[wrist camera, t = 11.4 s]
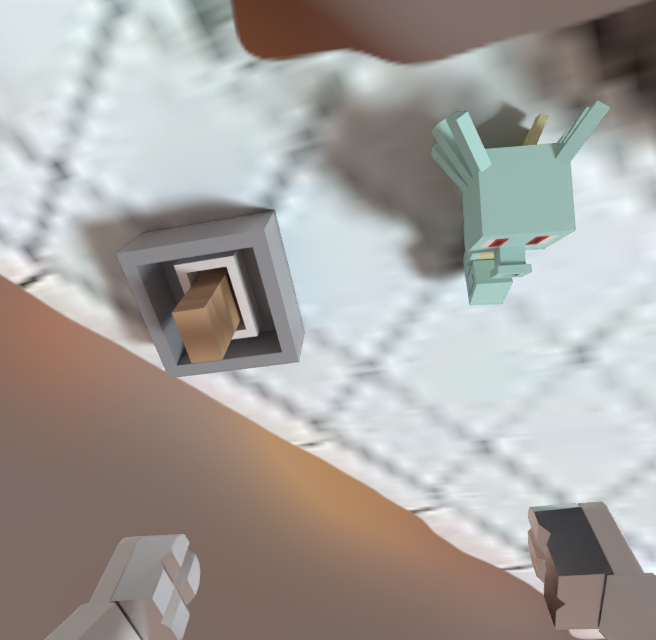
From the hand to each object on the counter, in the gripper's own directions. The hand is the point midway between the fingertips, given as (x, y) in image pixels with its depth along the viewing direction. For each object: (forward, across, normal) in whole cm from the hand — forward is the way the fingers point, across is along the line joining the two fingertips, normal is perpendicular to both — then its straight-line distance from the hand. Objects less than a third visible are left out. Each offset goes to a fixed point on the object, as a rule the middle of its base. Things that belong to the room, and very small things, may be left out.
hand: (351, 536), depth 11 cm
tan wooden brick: (+30, +13, +6) cm, 33 cm away
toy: (+31, -10, +2) cm, 33 cm away
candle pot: (+31, +13, +6) cm, 34 cm away
